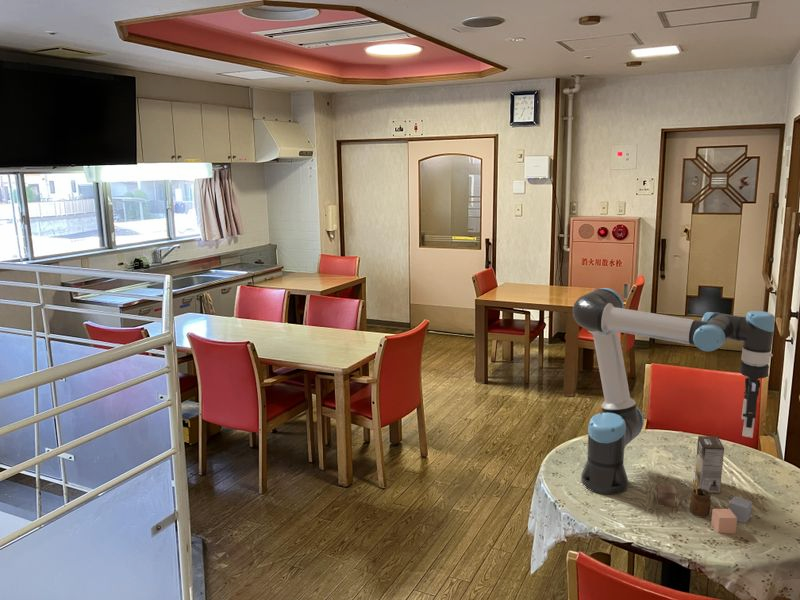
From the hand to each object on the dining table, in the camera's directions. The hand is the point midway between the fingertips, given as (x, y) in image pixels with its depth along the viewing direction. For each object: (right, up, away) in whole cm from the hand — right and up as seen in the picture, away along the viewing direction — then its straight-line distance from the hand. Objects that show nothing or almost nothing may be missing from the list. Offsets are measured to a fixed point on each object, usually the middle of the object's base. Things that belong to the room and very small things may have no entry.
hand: (746, 427), depth 203 cm
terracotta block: (-11, -29, -7) cm, 32 cm away
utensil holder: (-14, -27, +1) cm, 30 cm away
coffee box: (-4, -23, +17) cm, 29 cm away
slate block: (-3, -27, -2) cm, 27 cm away
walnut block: (-22, -25, +7) cm, 35 cm away
